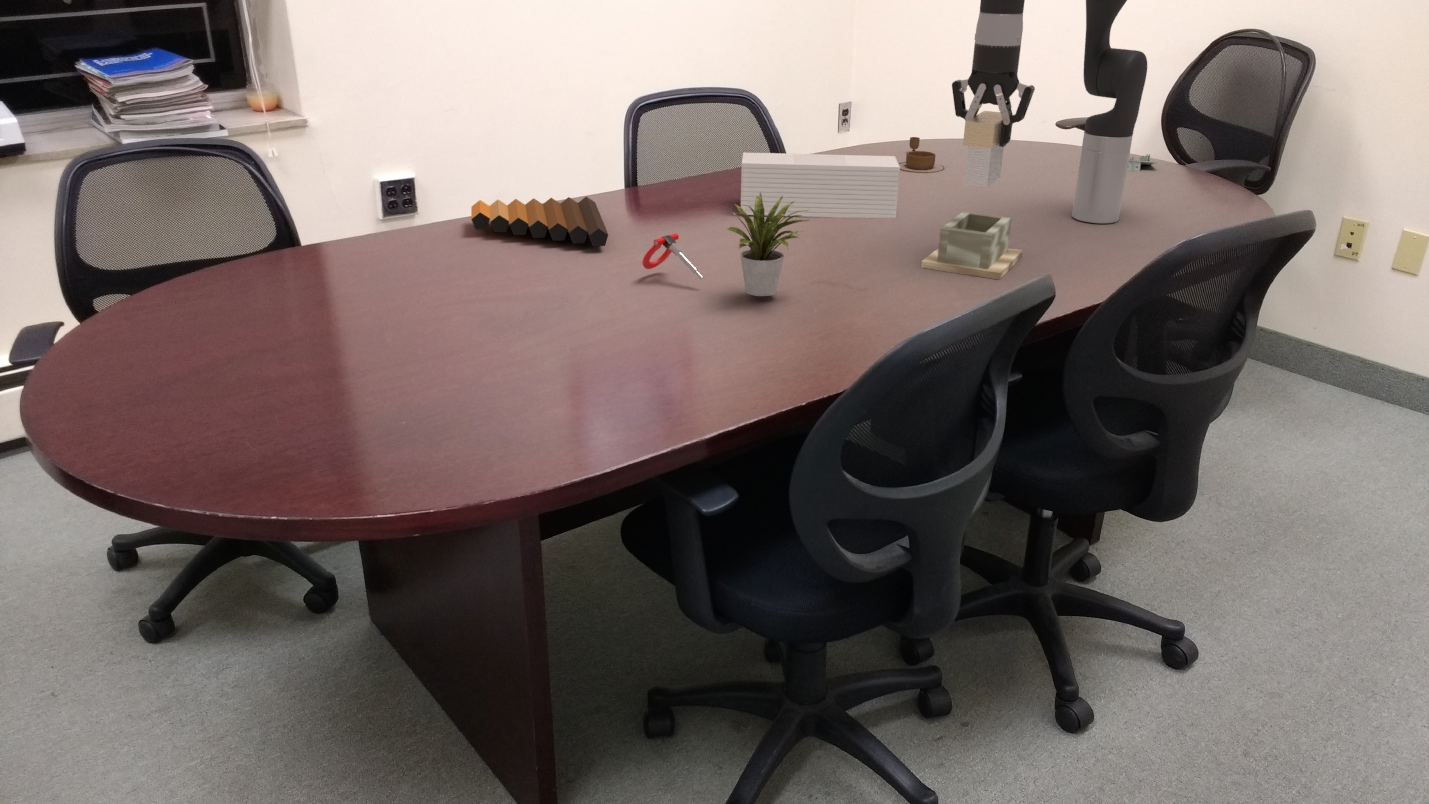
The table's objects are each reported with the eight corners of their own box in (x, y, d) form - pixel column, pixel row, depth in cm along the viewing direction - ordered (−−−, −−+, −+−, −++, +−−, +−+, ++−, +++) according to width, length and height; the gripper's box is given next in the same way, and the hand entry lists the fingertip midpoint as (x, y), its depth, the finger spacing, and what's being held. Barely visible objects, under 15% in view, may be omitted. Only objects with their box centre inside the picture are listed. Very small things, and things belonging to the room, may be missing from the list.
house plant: (775, 313, 172) (779, 211, 165) (701, 297, 178) (702, 198, 171) (817, 289, 183) (823, 192, 176) (745, 275, 189) (748, 181, 183)
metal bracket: (1168, 154, 260) (1102, 151, 263) (1165, 179, 261) (1099, 175, 263) (1153, 159, 274) (1091, 156, 277) (1151, 183, 275) (1089, 180, 277)
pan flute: (608, 245, 205) (595, 212, 227) (608, 228, 203) (594, 196, 226) (471, 251, 200) (472, 216, 222) (470, 233, 199) (470, 200, 221)
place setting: (875, 173, 268) (877, 148, 265) (907, 159, 283) (909, 136, 281) (943, 183, 259) (945, 157, 257) (973, 168, 275) (975, 144, 272)
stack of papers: (890, 206, 236) (894, 156, 232) (895, 219, 226) (900, 167, 222) (741, 202, 237) (743, 152, 233) (740, 215, 228) (741, 163, 223)
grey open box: (947, 245, 208) (951, 208, 205) (1021, 256, 202) (1027, 218, 199) (921, 267, 195) (924, 227, 192) (999, 279, 189) (1004, 239, 186)
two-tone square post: (977, 173, 198) (984, 110, 194) (1005, 176, 196) (1012, 113, 192) (958, 186, 189) (965, 121, 184) (987, 189, 186) (995, 124, 182)
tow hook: (661, 260, 195) (678, 230, 190) (698, 300, 192) (716, 271, 187) (635, 269, 190) (651, 238, 185) (673, 310, 187) (690, 280, 182)
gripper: (1046, 42, 183) (1033, 145, 190) (962, 36, 189) (952, 136, 196) (1036, 46, 177) (1022, 152, 184) (949, 40, 183) (939, 144, 190)
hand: (986, 144), depth 190 cm, fingers closed on two-tone square post, 5 cm apart
